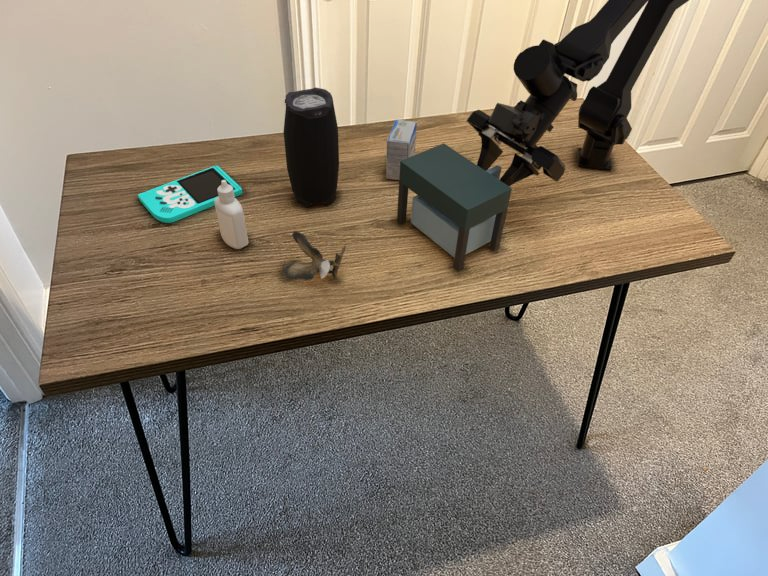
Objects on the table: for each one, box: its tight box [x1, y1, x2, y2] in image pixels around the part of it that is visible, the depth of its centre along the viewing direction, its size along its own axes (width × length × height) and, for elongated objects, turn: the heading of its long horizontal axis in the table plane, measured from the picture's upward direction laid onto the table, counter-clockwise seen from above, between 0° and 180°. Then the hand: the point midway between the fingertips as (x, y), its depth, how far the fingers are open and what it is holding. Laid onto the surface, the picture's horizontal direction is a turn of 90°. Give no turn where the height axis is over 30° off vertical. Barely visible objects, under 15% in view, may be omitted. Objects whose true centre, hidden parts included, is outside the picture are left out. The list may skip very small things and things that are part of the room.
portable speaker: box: [283, 87, 340, 208], centre depth 103 cm, size 9×9×20 cm
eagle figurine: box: [283, 230, 347, 281], centre depth 94 cm, size 8×7×9 cm
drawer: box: [410, 165, 502, 258], centre depth 102 cm, size 14×12×10 cm
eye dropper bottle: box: [214, 180, 250, 250], centre depth 97 cm, size 4×6×12 cm
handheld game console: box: [137, 165, 244, 224], centre depth 109 cm, size 10×16×1 cm, turn 129°
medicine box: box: [385, 119, 418, 181], centre depth 114 cm, size 8×4×9 cm, turn 168°
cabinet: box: [396, 143, 513, 272], centre depth 99 cm, size 10×16×12 cm, turn 38°
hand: (483, 186), depth 102 cm, fingers open, 4 cm apart
